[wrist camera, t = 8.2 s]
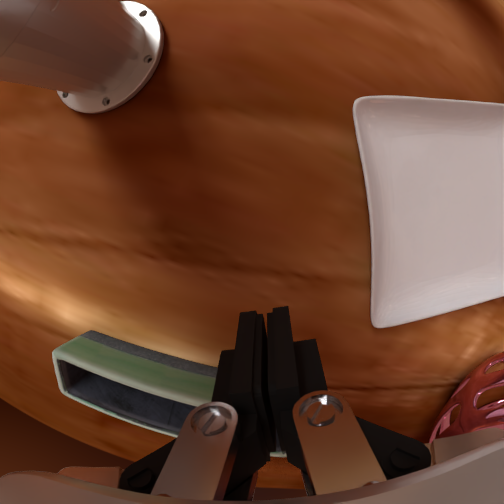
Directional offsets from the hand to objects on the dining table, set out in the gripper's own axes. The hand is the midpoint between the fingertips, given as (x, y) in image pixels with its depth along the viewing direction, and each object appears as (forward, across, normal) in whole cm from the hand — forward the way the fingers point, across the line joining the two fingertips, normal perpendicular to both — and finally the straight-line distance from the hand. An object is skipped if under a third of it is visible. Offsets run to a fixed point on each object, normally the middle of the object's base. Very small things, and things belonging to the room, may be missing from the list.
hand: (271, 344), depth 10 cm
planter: (+18, +12, +16) cm, 27 cm away
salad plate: (+18, -19, +1) cm, 26 cm away
